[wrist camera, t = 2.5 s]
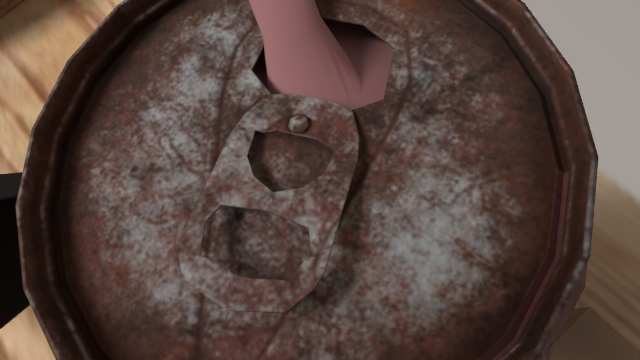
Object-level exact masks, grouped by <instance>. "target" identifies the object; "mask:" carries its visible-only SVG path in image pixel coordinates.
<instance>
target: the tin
mask: <svg viewBox="0 0 640 360" xmlns="http://www.w3.org/2000/svg"><path fill="white" fill-rule="evenodd" d="M22 1H23V0H0V18H1V17H3V16H4V15H5V14H6V13H8V12H9V11H10V10H12V9H13V8H14V7H15V6H17V5H18V4H19V3H21V2H22Z"/></svg>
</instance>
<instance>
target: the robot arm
mask: <svg viewBox="0 0 640 360" xmlns="http://www.w3.org/2000/svg"><path fill="white" fill-rule="evenodd" d="M22 173H23V172H21V173H10V174H0V329H1V328H2V327H4V326H5V325H6V324H7V323H9V322H10V321H11V320H12V319H13V318H15V317H16V316H17V315H18V314H20V313H21V312H22V311H23V310H25V309H26V308H27V307H28V306H30V303H29V300H28V298H27V296H26V294H25V292H24V290H23V280H22V270H21V259H20V249H19V238H18V227H17V217H16V201H17V197H18V192H19V187H20V183H21V178H22Z"/></svg>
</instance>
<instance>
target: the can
mask: <svg viewBox="0 0 640 360" xmlns="http://www.w3.org/2000/svg"><path fill="white" fill-rule="evenodd" d="M597 167H598V155H597V151H596V148H595V144H594V141H593V137H592V134H591V130H590V127H589V123H588V120H587V117H586V113H585V110H584V106H583V102H582V99H581V96H580V93H579V89H578V85H577V82H576V78H575V75H574V71H573V70H572V68H571V67H570V65H569V64H568V63H567V61H566V60H565V59H564V57H563V56H562V54H561V53H560V52H559V50H558V49H557V47H556V46H555V45H554V43H553V42H552V41H551V39H550V38H549V36H548V35H547V34H546V32H545V31H544V30H543V28H542V27H541V25H540V24H539V23H538V21H537V20H536V19H535V17H534V16H533V14H532V13H531V12H530V10H529V9H528V7H527V6H526V5H525V3H523V2H522V1H521V0H124V1H123V2H121V3H120V4H118V5H117V6H116V7H115V8H114V10H113V11H112V12H111V13H110V14H109V15H108V16H107V17H106V18H105V20H104V21H103V22H102V23H101V24H100V25H99V26H98V27H97V28H96V30H95V31H94V32H93V33H92V34H91V35H90V36H89V37H88V38H87V40H86V41H85V42H84V43H83V44H82V45H81V46H80V47H79V48H78V50H77V51H76V52H75V53H74V54H73V55H72V56H71V57H70V58H69V60H68V61H67V63H66V65H65V67H64V69H63V71H62V72H61V74H60V76H59V78H58V80H57V82H56V84H55V86H54V88H53V90H52V91H51V93H50V95H49V97H48V99H47V101H46V103H45V105H44V107H43V109H42V110H41V112H40V114H39V116H38V118H37V120H36V122H35V124H34V126H33V128H32V131H31V136H30V141H29V145H28V150H27V155H26V159H25V164H24V169H23V173H22V178H21V183H20V187H19V192H18V197H17V201H16V217H17V227H18V238H19V249H20V259H21V270H22V280H23V290H24V292H25V294H26V296H27V298H28V300H29V303H30V305H31V307H32V309H33V311H34V313H35V315H36V318H37V320H38V322H39V324H40V326H41V328H42V331H43V333H44V335H45V337H46V339H47V341H48V343H49V346H50V348H51V350H52V352H53V354H54V356H55V358H56V360H549V359H550V357H551V355H552V353H553V351H554V349H555V347H556V345H557V343H558V340H559V338H560V336H561V334H562V332H563V330H564V328H565V326H566V324H567V322H568V320H569V318H570V316H571V314H572V312H573V310H574V307H575V305H576V303H577V301H578V299H579V297H580V295H581V293H582V291H583V289H584V287H585V281H586V269H587V261H588V259H589V257H590V250H591V238H592V227H593V215H594V203H595V191H596V179H597Z"/></svg>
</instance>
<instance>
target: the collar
mask: <svg viewBox="0 0 640 360" xmlns="http://www.w3.org/2000/svg"><path fill="white" fill-rule="evenodd" d="M549 360H640V353H639V352H638V351H637V350H636V349H635V348H634V347H633V346H631V345H630V344H629V343H628V342H627V341H626V340H625V339H624V338H623V337H622V336H621V335H620V334H618V333H617V332H616V331H615V330H614V329H613V328H612V327H611V326H610V325H609V324H608V323H607V322H605V321H604V320H603V319H602V318H601V317H600V316H599V315H598V314H597V313H596V312H595V311H593V310H592V309H591V308H590V307H588V308H577V309H574V310H573V312H572V314H571V316H570V318H569V320H568V322H567V324H566V326H565V328H564V330H563V332H562V334H561V336H560V338H559V340H558V343H557V345H556V347H555V349H554V351H553V353H552V355H551V357H550V359H549Z"/></svg>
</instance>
